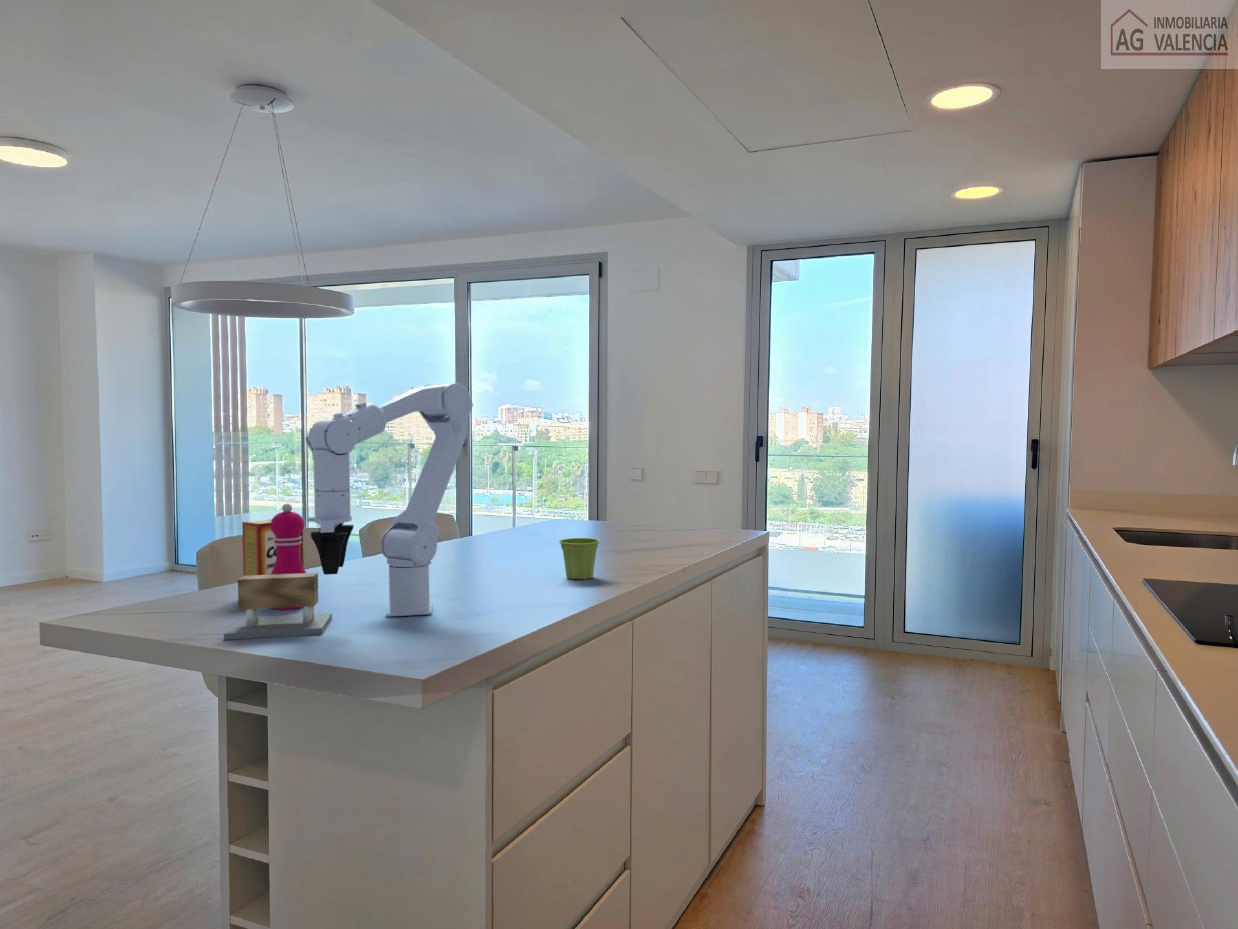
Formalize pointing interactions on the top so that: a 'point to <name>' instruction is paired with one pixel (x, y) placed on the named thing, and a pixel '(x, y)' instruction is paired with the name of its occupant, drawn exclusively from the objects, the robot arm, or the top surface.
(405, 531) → the robot arm
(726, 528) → the top surface
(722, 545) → the top surface
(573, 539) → the plant pot
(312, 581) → the walnut plank
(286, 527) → the pepper mill
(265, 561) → the food box
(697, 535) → the top surface
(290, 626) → the peg stand
